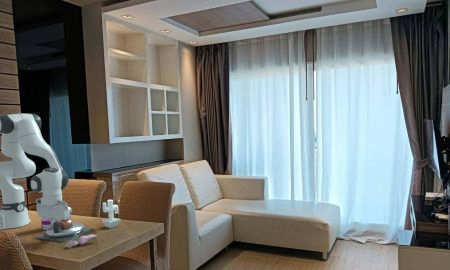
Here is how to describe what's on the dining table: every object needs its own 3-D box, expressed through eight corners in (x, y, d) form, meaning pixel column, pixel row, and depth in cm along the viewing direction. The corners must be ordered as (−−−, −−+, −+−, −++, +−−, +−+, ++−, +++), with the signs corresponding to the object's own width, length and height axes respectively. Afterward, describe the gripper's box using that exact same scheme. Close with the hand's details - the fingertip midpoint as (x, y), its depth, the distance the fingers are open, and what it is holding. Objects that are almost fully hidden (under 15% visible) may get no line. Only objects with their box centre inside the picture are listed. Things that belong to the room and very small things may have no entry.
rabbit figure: (65, 253, 152) (98, 240, 160) (62, 241, 151) (95, 229, 159) (63, 249, 157) (96, 237, 165) (60, 237, 157) (93, 226, 164)
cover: (55, 230, 173) (54, 220, 173) (62, 226, 180) (61, 216, 180) (68, 229, 172) (67, 220, 172) (75, 225, 179) (74, 216, 179)
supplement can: (51, 230, 184) (49, 204, 184) (38, 230, 186) (36, 204, 186) (61, 226, 192) (59, 200, 192) (48, 226, 194) (47, 200, 193)
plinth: (35, 238, 172) (35, 236, 172) (68, 226, 190) (68, 225, 190) (62, 242, 163) (62, 240, 163) (94, 229, 181) (94, 228, 181)
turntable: (39, 237, 168) (38, 224, 168) (58, 226, 186) (58, 214, 186) (73, 236, 167) (72, 223, 167) (89, 225, 185) (89, 213, 185)
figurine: (122, 224, 188) (121, 198, 188) (108, 229, 181) (107, 202, 180) (114, 223, 192) (112, 197, 192) (100, 227, 185) (98, 201, 184)
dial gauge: (62, 227, 185) (61, 208, 185) (70, 224, 190) (69, 206, 190) (68, 228, 183) (67, 209, 183) (76, 225, 188) (75, 206, 188)
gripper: (72, 200, 168) (73, 226, 168) (44, 197, 176) (46, 222, 177) (61, 203, 162) (62, 230, 163) (33, 199, 170) (35, 226, 171)
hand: (53, 226), depth 170 cm, fingers closed, pressing on turntable
